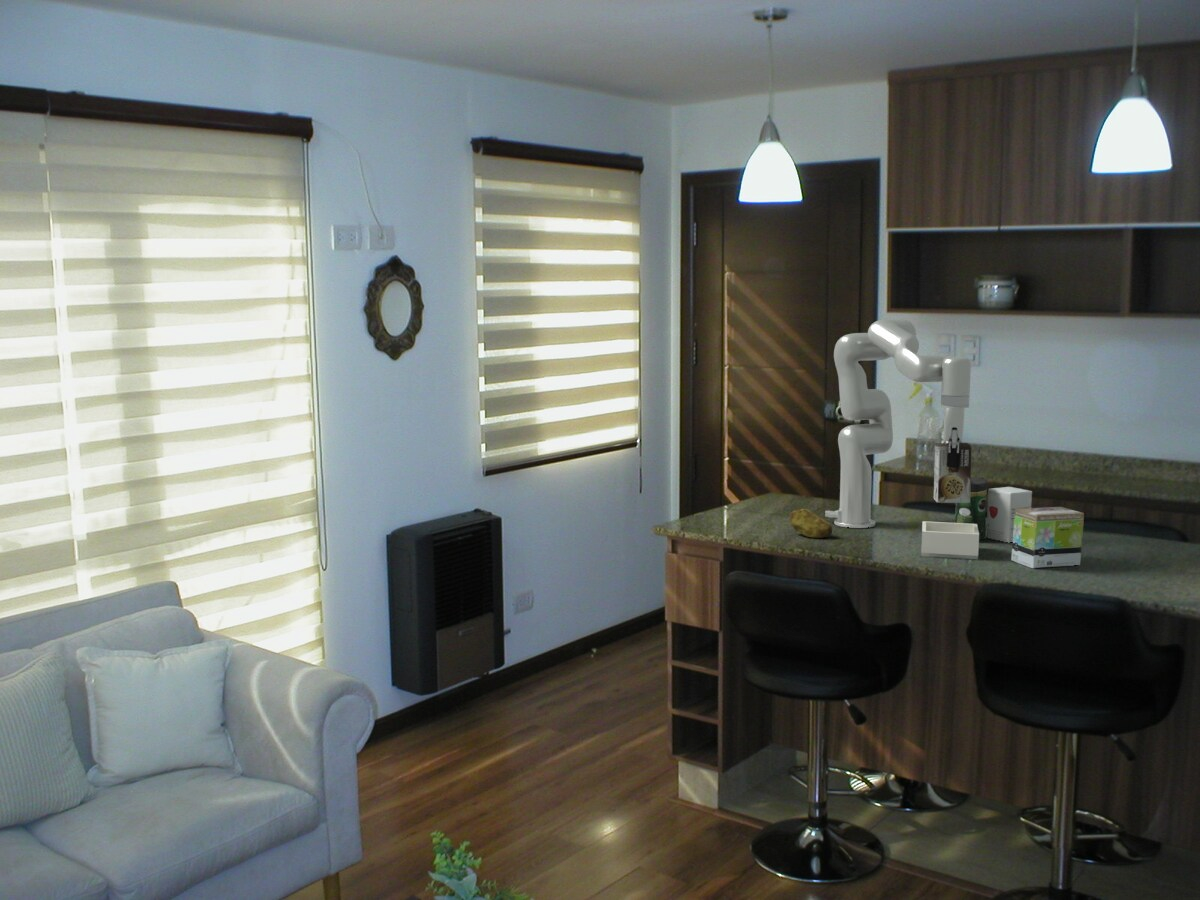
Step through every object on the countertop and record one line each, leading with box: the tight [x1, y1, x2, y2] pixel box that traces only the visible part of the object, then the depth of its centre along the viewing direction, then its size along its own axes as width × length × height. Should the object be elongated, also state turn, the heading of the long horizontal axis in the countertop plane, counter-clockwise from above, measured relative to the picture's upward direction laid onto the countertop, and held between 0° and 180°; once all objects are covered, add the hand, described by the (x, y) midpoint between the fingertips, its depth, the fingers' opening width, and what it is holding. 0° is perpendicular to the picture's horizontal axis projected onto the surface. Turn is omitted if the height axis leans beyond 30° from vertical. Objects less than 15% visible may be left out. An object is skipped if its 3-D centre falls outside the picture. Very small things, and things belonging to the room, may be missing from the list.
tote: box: [920, 520, 980, 560], centre depth 330 cm, size 15×15×7 cm
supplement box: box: [985, 486, 1033, 544], centre depth 346 cm, size 9×9×15 cm
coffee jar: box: [954, 476, 988, 541], centre depth 346 cm, size 10×8×19 cm
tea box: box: [1010, 506, 1085, 569], centre depth 315 cm, size 15×10×15 cm
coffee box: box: [933, 442, 972, 504], centre depth 327 cm, size 9×6×16 cm
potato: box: [788, 508, 833, 539], centre depth 351 cm, size 8×13×8 cm, turn 39°
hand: (952, 464), depth 327 cm, fingers closed on coffee box, 7 cm apart
